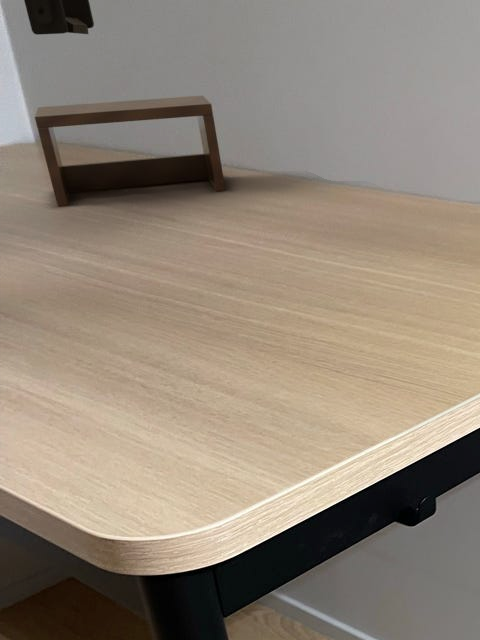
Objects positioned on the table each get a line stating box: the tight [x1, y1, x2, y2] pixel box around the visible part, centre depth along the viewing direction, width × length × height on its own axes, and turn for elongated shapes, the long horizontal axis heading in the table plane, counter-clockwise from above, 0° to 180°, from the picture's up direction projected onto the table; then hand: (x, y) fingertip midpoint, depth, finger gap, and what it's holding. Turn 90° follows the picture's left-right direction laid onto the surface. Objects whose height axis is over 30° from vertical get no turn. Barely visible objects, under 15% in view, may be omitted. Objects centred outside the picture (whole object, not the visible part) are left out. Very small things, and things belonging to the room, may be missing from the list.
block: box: [66, 17, 89, 35], centre depth 94 cm, size 4×6×2 cm, turn 10°
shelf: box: [34, 95, 227, 207], centre depth 123 cm, size 20×10×10 cm, turn 109°
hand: (64, 28), depth 94 cm, fingers closed on block, 6 cm apart
